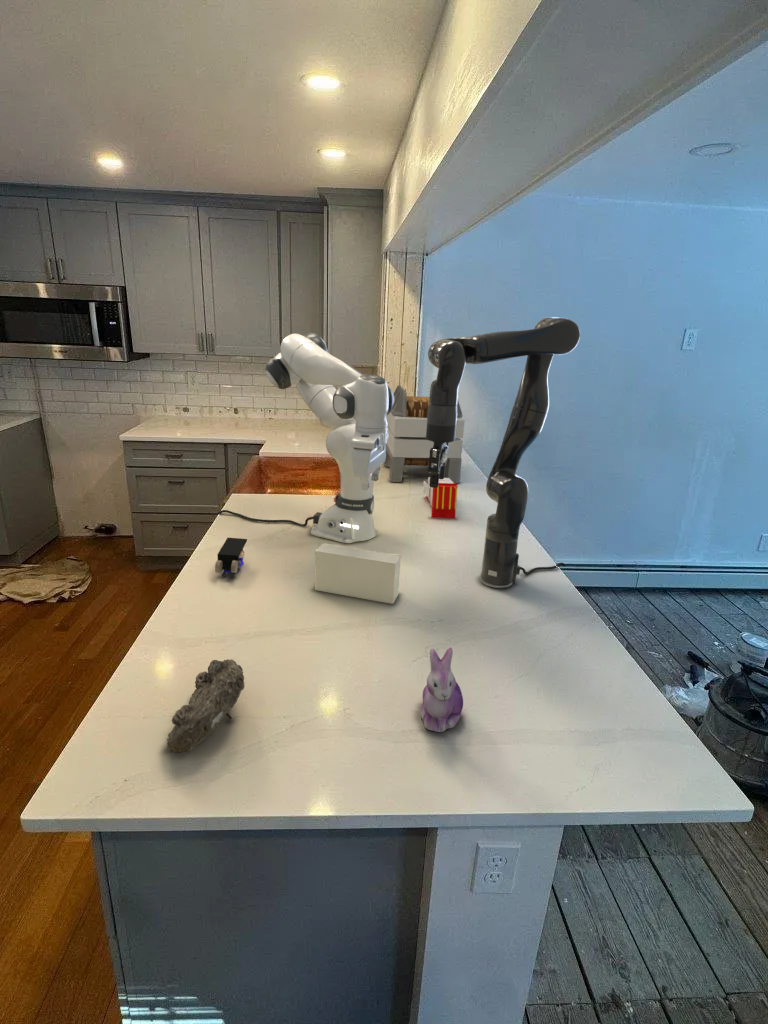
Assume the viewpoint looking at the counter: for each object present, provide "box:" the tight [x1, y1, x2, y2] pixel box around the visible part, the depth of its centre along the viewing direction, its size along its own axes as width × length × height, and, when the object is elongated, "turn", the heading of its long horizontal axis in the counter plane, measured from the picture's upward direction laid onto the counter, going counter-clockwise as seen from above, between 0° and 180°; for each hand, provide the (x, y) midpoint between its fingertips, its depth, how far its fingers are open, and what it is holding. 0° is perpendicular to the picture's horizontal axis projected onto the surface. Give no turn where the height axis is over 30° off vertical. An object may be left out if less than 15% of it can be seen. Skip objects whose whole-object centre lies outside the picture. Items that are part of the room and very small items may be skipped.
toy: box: [422, 476, 458, 519], centre depth 227 cm, size 12×13×30 cm
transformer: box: [382, 384, 465, 484], centre depth 268 cm, size 34×33×41 cm
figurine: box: [420, 647, 464, 733], centre depth 108 cm, size 9×10×15 cm
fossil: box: [166, 658, 245, 754], centre depth 106 cm, size 22×10×15 cm
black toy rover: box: [214, 537, 248, 578], centre depth 166 cm, size 7×8×15 cm
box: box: [314, 542, 402, 605], centre depth 156 cm, size 23×6×12 cm, turn 74°
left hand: (370, 484), depth 159 cm, fingers open, 8 cm apart
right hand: (436, 482), depth 149 cm, fingers open, 8 cm apart
